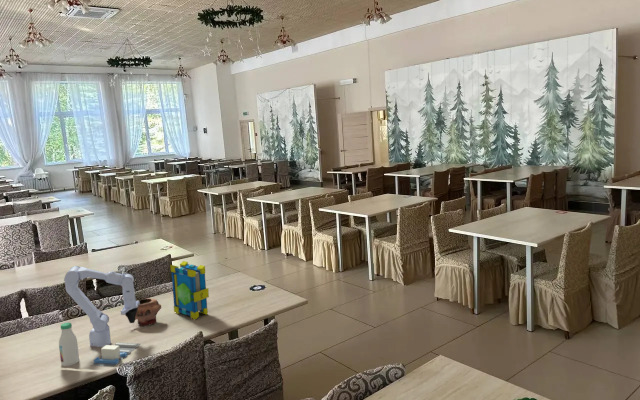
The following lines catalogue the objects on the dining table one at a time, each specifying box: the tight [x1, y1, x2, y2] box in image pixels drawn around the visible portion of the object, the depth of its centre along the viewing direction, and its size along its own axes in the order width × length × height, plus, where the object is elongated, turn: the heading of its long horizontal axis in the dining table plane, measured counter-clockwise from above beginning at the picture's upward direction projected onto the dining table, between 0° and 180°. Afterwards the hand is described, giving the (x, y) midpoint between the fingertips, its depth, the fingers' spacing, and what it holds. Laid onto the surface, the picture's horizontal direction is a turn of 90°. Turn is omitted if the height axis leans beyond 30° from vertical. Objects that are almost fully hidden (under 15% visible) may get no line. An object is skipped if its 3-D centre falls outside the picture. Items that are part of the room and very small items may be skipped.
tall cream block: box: [100, 344, 120, 360], centre depth 230 cm, size 7×4×6 cm, turn 80°
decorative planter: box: [124, 297, 162, 327], centre depth 273 cm, size 20×12×14 cm, turn 125°
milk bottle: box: [58, 322, 80, 367], centre depth 228 cm, size 8×8×20 cm
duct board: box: [90, 342, 141, 368], centre depth 236 cm, size 12×24×3 cm, turn 170°
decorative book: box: [170, 260, 210, 320], centre depth 286 cm, size 14×23×30 cm, turn 53°
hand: (132, 322), depth 250 cm, fingers closed
